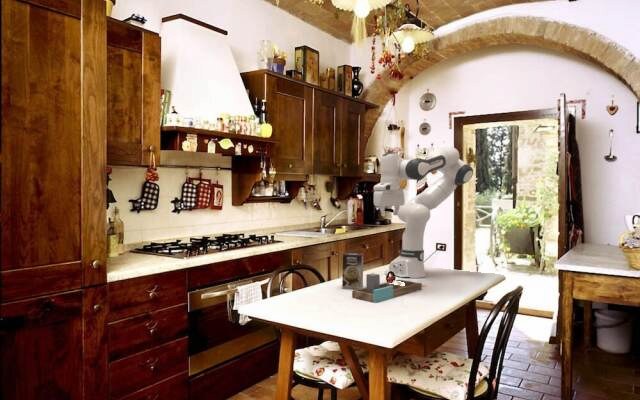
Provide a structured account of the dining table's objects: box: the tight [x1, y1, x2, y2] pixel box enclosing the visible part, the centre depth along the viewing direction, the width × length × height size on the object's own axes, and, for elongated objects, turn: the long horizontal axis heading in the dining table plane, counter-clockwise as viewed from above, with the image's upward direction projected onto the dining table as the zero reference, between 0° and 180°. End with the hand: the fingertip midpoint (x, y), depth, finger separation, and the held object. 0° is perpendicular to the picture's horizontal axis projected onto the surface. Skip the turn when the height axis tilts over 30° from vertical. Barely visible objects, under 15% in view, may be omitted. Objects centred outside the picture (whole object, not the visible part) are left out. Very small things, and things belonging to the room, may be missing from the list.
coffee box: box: [341, 252, 364, 290], centre depth 216 cm, size 9×6×16 cm
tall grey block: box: [365, 272, 381, 294], centre depth 196 cm, size 4×4×10 cm
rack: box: [351, 279, 422, 304], centre depth 204 cm, size 12×35×5 cm, turn 135°
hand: (389, 215), depth 217 cm, fingers open, 8 cm apart
